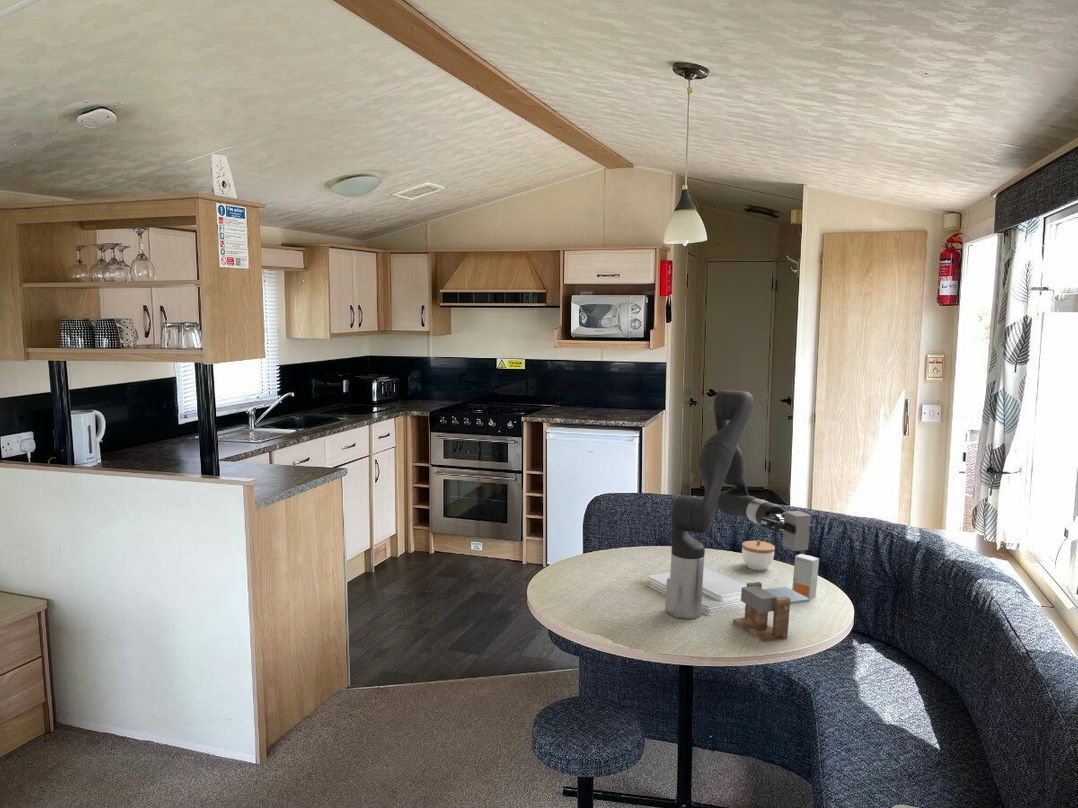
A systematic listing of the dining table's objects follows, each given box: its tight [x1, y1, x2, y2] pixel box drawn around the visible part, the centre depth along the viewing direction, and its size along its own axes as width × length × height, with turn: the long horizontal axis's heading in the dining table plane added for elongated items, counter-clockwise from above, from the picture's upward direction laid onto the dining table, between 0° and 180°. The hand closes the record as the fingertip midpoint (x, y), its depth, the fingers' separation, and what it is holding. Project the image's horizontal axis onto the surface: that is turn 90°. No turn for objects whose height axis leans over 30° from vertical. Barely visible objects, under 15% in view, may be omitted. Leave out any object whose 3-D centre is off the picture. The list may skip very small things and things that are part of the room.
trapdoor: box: [740, 586, 811, 613], centre depth 222 cm, size 10×15×4 cm, turn 112°
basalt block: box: [782, 510, 812, 552], centre depth 232 cm, size 5×5×10 cm
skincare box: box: [791, 553, 820, 600], centre depth 250 cm, size 6×4×12 cm
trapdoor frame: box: [732, 581, 791, 643], centre depth 221 cm, size 16×8×11 cm, turn 22°
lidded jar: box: [741, 539, 776, 571], centre depth 275 cm, size 11×11×9 cm
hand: (803, 529), depth 229 cm, fingers closed on basalt block, 5 cm apart
